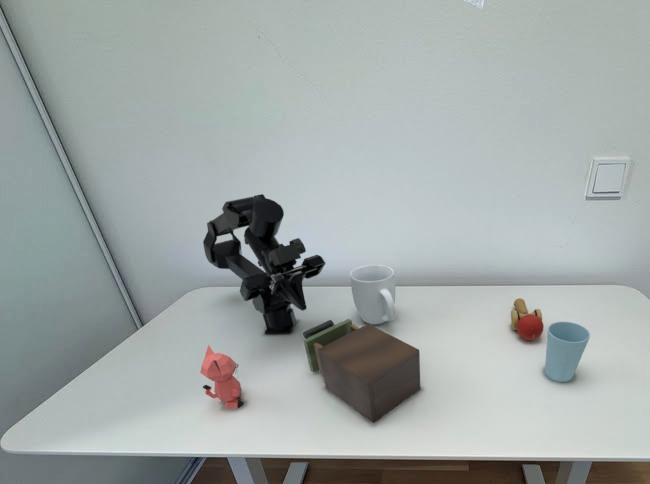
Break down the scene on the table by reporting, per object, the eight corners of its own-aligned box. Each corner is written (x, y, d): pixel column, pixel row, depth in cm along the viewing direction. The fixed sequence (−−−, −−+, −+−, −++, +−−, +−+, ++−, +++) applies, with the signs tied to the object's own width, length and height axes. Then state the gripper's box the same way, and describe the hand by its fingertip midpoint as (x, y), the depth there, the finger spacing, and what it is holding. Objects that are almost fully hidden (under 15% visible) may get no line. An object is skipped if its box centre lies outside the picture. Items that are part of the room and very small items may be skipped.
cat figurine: (253, 405, 71) (235, 355, 65) (215, 420, 68) (191, 368, 62) (245, 386, 76) (227, 337, 70) (209, 398, 73) (187, 348, 67)
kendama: (500, 312, 102) (511, 340, 85) (507, 291, 99) (519, 315, 83) (528, 317, 102) (544, 346, 86) (535, 296, 99) (553, 321, 83)
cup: (575, 390, 73) (587, 346, 67) (536, 379, 76) (544, 336, 70) (580, 368, 78) (592, 326, 72) (543, 359, 81) (551, 318, 75)
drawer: (299, 362, 81) (291, 332, 77) (341, 341, 88) (336, 312, 84) (349, 399, 71) (344, 367, 66) (393, 372, 78) (390, 340, 73)
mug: (413, 327, 94) (411, 279, 87) (374, 341, 89) (369, 291, 82) (384, 304, 105) (380, 260, 97) (348, 316, 100) (342, 270, 92)
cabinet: (325, 388, 75) (317, 349, 70) (372, 360, 83) (368, 323, 77) (373, 423, 67) (367, 382, 61) (420, 389, 74) (419, 349, 69)
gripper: (228, 240, 69) (272, 310, 69) (313, 218, 81) (351, 279, 80) (224, 269, 78) (262, 331, 78) (300, 246, 90) (334, 300, 89)
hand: (304, 309), depth 81 cm, fingers closed
